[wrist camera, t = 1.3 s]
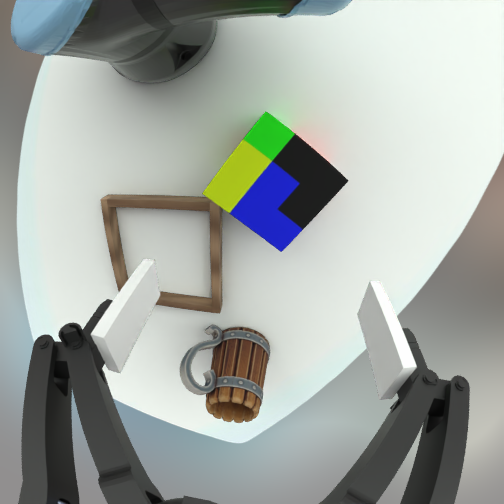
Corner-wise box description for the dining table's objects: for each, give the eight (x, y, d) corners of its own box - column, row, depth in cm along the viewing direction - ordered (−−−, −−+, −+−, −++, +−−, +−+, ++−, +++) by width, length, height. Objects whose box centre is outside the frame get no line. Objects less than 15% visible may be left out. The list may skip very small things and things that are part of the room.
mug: (281, 346, 49) (280, 415, 36) (243, 367, 53) (234, 430, 40) (219, 298, 44) (198, 369, 31) (183, 326, 49) (158, 390, 35)
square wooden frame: (108, 194, 37) (100, 199, 35) (222, 198, 36) (218, 203, 34) (125, 291, 46) (120, 298, 44) (222, 304, 45) (219, 313, 43)
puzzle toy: (280, 217, 37) (281, 252, 28) (221, 172, 35) (202, 193, 26) (329, 163, 33) (348, 180, 24) (268, 113, 30) (265, 111, 22)
